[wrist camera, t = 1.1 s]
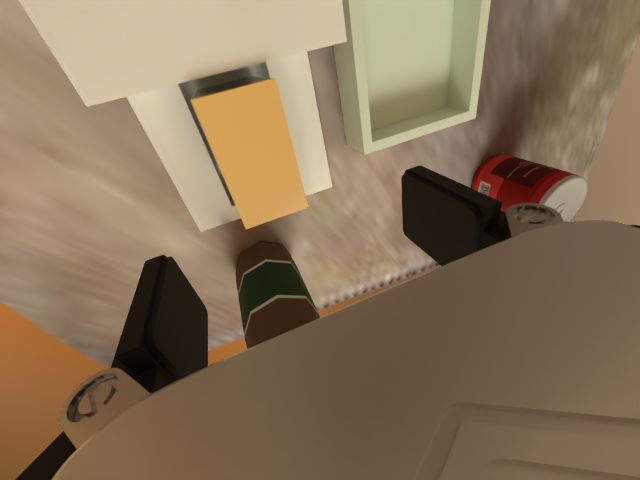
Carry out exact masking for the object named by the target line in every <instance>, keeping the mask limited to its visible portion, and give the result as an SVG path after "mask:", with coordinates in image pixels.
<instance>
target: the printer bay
mask: <svg viewBox="0 0 640 480" xmlns="http://www.w3.org/2000/svg"><path fill="white" fill-rule="evenodd" d="M19 1H20V3H21V5H22V6H23V8H24V9H25V11H26V12H27V14H28V16H29V17H30V19H31V20H32V22H33V23H34V25H35V27H36V28H37V30H38V31H39V33H40V34H41V36H42V37H43V39H44V41H45V42H46V44H47V45H48V47H49V48H50V50H51V52H52V53H53V55H54V56H55V58H56V59H57V61H58V63H59V64H60V66H61V67H62V69H63V70H64V72H65V73H66V75H67V77H68V78H69V80H70V81H71V83H72V84H73V86H74V88H75V89H76V91H77V92H78V94H79V95H80V97H81V98H82V100H83V102H84V103H85V105H86V106H87V107H88V106H92V105H96V104H100V103H104V102H107V101H111V100H115V99H119V98H123V97H127V99H128V101H129V103H130V105H131V107H132V108H133V110H134V112H135V114H136V116H137V117H138V119H139V121H140V123H141V125H142V127H143V128H144V130H145V132H146V134H147V136H148V137H149V139H150V141H151V143H152V145H153V146H154V148H155V150H156V152H157V154H158V156H159V157H160V159H161V161H162V163H163V165H164V166H165V168H166V170H167V172H168V174H169V175H170V177H171V179H172V181H173V183H174V185H175V186H176V188H177V190H178V192H179V194H180V195H181V197H182V199H183V201H184V203H185V205H186V206H187V208H188V210H189V212H190V214H191V215H192V217H193V219H194V221H195V223H196V224H197V226H198V228H199V230H200V232H202V231H205V230H208V229H211V228H214V227H217V226H220V225H223V224H226V223H229V222H231V221H234V220H237V219H240V218H241V217H240V215H239V212H238V210H237V208H236V205H235V203H234V201H233V198H232V196H231V194H230V191H229V189H228V187H227V184H226V182H225V180H224V177H223V175H222V173H221V170H220V168H219V166H218V163H217V161H216V159H215V156H214V154H213V152H212V149H211V147H210V145H209V142H208V140H207V138H206V135H205V133H204V131H203V129H202V126H201V124H200V122H199V119H198V117H197V115H196V112H195V110H194V108H193V105H192V103H191V101H190V100H191V99H193V98H195V95H196V92H197V90H200V89H204V88H208V87H212V86H215V85H219V84H223V83H227V82H231V81H235V80H239V79H243V78H246V77H250V76H255V77H260V78H265V79H269V78H276V82H277V86H278V90H279V94H280V98H281V102H282V106H283V109H284V113H285V117H286V121H287V125H288V129H289V133H290V137H291V141H292V145H293V149H294V153H295V157H296V161H297V165H298V169H299V173H300V176H301V180H302V184H303V188H304V192H305V196H307V195H310V194H313V193H316V192H319V191H321V190H324V189H327V188H330V187H332V183H331V178H330V173H329V167H328V162H327V156H326V151H325V146H324V140H323V135H322V130H321V124H320V119H319V113H318V108H317V103H316V97H315V92H314V87H313V81H312V76H311V70H310V65H309V60H308V54H307V51H311V50H315V49H319V48H323V47H327V46H331V45H335V44H339V43H343V42H347V38H346V29H345V21H344V12H343V3H342V0H19Z"/></svg>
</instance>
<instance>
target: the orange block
mask: <svg viewBox="0 0 640 480" xmlns="http://www.w3.org/2000/svg"><path fill="white" fill-rule="evenodd" d="M190 101H191V103H192V105H193V108H194V110H195V112H196V115H197V117H198V119H199V122H200V124H201V126H202V129H203V131H204V133H205V135H206V138H207V140H208V142H209V145H210V147H211V149H212V152H213V154H214V156H215V159H216V161H217V163H218V166H219V168H220V170H221V173H222V175H223V177H224V180H225V182H226V184H227V187H228V189H229V191H230V194H231V196H232V198H233V201H234V203H235V205H236V208H237V210H238V212H239V215H240V217H241V219H242V222H243V224H244V226H245V228H246V229H249V228H252V227H254V226H257V225H260V224H263V223H266V222H269V221H271V220H274V219H277V218H280V217H283V216H286V215H288V214H291V213H294V212H297V211H300V210H303V209H305V208H308V204H307V200H306V196H305V192H304V188H303V184H302V180H301V176H300V173H299V169H298V165H297V161H296V157H295V153H294V149H293V145H292V141H291V137H290V133H289V129H288V125H287V121H286V117H285V113H284V109H283V106H282V102H281V98H280V94H279V90H278V86H277V82H276V78H269V79H265V78H260V77H255V76H250V77H246V78H243V79H239V80H235V81H231V82H227V83H223V84H219V85H215V86H212V87H208V88H204V89H200V90H197V92H196V95H195V98H193V99H191V100H190Z"/></svg>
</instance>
